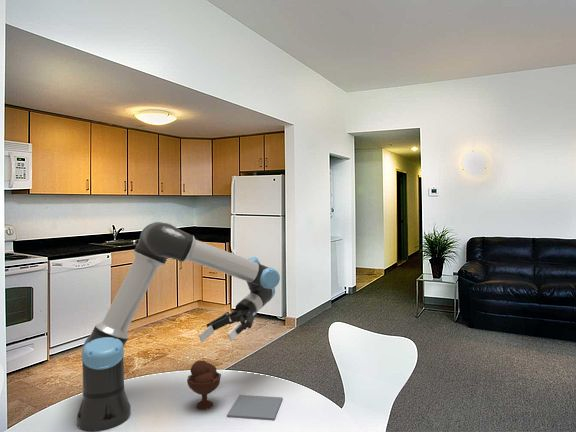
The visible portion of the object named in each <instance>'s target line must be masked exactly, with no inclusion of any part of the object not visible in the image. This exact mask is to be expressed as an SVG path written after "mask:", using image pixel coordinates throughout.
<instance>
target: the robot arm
mask: <svg viewBox="0 0 576 432" xmlns="http://www.w3.org/2000/svg"><path fill="white" fill-rule="evenodd" d="M133 253H134V260H133V261H132V263H131V266H130V267H129V269H128V271H127V272H126V275H125V278H124V279H123V281H122V283H121V285H120V287H119V289H118V291H117V293H116V294H115V297H114V299H113V300H112V303H111V305H110V307H109V308H108V310H107V312H106V314H105V316H104V318H103V321H101V322H99V323H96V324H95V325H94V328H93V330H92V332H91V333H90V335H89V336H88V337H87V339H85V340H84V343H83V345H82V348H81V349H82V350H81V361H82V399H81V403H80V406H79V409H78V412H77V416H76V425H78V426H77V428H79V427H80V428H81V430H82V429H83V430H82V431H89V432H90V431H91V432H95V431H97V432H98V431H103V430H109V429H111V428H113V427H116V426H119V425H120V424H123V423H124V422H125V421H127V420H128V419H129V418H130V417H131V414H132V412H131V410H132V409H131V403H130V401H129V398H128V395H127V394H126V390H125V369H124V368H125V367H124V366H125V364H124V363H125V361H124V359H125V357H124V355H125V349H124V348H125V346H126V344H127V341H128V340H129V337H130V336H129V333H128V330H129V327H130V325H131V323H132V321H133V319H134V317H135V314H136V313H137V311H138V308H139V307H140V305H141V303H142V301H143V299H144V297H145V295H146V293H147V290H148V289H149V287H150V285H151V283H152V281H153V280H154V276H155V274H156V273H157V271H158V269H159V268H160V267H162V266H165V264H166V262H167V260H168V259H170V260H175V261H178V262H182V263H184V262H186V261H188V262H191V263H194V264H197V265H198V266H199V265H200V266H203V267H206V268H208V269H211V270H214V271H216V272H220V273H223V274H226V275H228V276H231V277H234V278H237V279H239V280H243V281H245V282H246V283H247V287H248V289H249V291H250V292H249V293H248V294H247V295H246V296H245V297H243V299H242V300H239V302H238V303H236V306H235V307H234V310H233V311H232V312H230V311H226V312H225V313H224V314H222V315H221V316H219V317H217V318H216V319H214V320H212V321H210V322H208V323H207V324H206V329H204V330H203V331H202V332H201V333H200V334H199V335H198V337H199V340H200V343H204V342H205V341H206V340H207V339H209V338H210V337H211V335H213V334H214V333H215V331H217V330H219V329H220V328H223V327H225V326H226V325H232V324H234V323H237V324H236V325H235V326H234V327H233V328H232V329H231V330H229V332H228V333H227V336H228V339H229V341H230V342H233V341H234V340H235V339H236V337H238V336H239V335H240V334H241V333H242V332H243V331H245V330H247V328H248V329H251V328H252V327H253V323H254V321H255V318H256V317H257V313H258V312H259V311H260V310H261V309H262V308H264V306H265V305H267V303H269V302H270V301H271V300H272V299H273V297H274V296H275V294H276V287H277V286H278V285H279V283H280V279H281V277H280V272H279V271H278V270H277V269H275V268H273V267H269V266H266V265H264V264H261V261H259V258H258V257H256V256H254V257H253V256H252V257H249V258H245V257H242V256H240V255H237V254H234V253H232V252H229V251H226V250H225V249H222V248H219V247H216V246H213V245H211V244H208V243H205V242H203V241H201V240H199V239H196V238H195V235H193V234H190V233H188V232H185V231H184V230H181V229H180V228H178V227H177V226H174V225H172V224H171V223H167V222H161V221H156V222H155V221H154V222H151V223H149V224H147V225H146V226H145V227H144V228H143V229H142V230H141V232H140V234H139V240H138V241H137V244H136V245H135V248H134V250H133ZM80 428H79V429H80Z"/></svg>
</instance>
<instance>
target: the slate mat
mask: <svg viewBox="0 0 576 432" xmlns="http://www.w3.org/2000/svg"><path fill="white" fill-rule="evenodd" d="M283 400H284V398H283V397H282V396H267V395H266V396H265V395H249V394H239V395H238V397H237V398H236V400H235V402H234V403H233V404H232V406H231V408H230V410H228V413H227V414H226V418H237V419H238V418H239V419H248V420H249V419H250V420H251V419H253V420H263V421H264V420H266V421H275V419H276V417H277V414H278V412H279V409H280V407H281V404H282V402H283Z"/></svg>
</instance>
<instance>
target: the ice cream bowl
mask: <svg viewBox="0 0 576 432" xmlns="http://www.w3.org/2000/svg"><path fill="white" fill-rule="evenodd" d="M191 365H192V366H191V368H190V370H189V371H190V375H188V376H187V380H186V381H187V386H188V387H189V389H191V390H192V392H194V393H195V394H197V395H201V400H200V401H199V402H197V404H196V407H195V408H196V409H197V410H199V411H201V410H202V411H205V410H206V411H207V410H210V409H211V408H213V407H214V403H213V401H211V400H209V399H208V395H209V394H211V393H213V392H214V391H215V390H216V389H217V388H218V387H219V385H220V382H221V378H222V373H220V372H217V367H216V366H215V365H214V364H212V363H209V362H207V361H206V360H197V361H195V362H194V363H192V364H191Z"/></svg>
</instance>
